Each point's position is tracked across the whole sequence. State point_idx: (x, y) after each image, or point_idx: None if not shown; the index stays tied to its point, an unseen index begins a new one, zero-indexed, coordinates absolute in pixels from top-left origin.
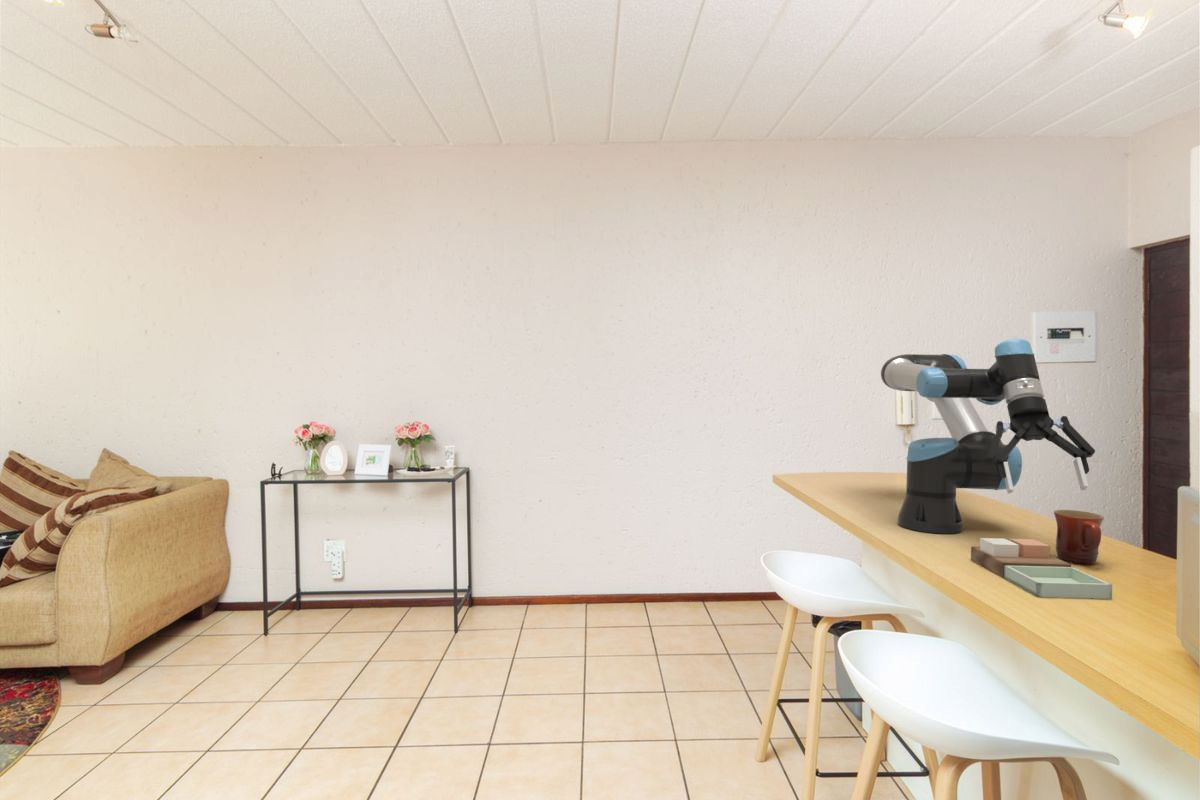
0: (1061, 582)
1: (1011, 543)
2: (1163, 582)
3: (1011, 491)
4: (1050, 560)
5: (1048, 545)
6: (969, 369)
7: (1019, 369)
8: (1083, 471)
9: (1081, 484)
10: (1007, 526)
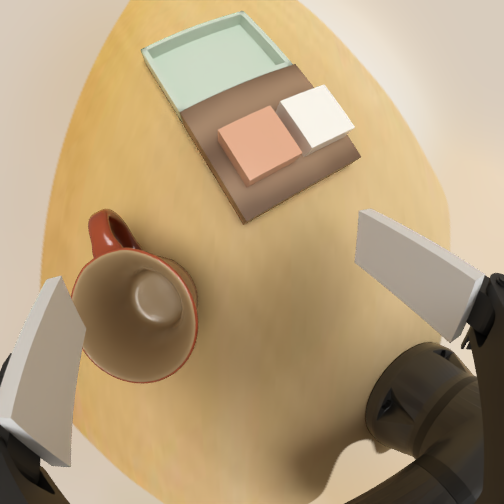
0: (211, 23)
1: (294, 107)
2: (49, 216)
3: (360, 237)
4: (215, 121)
5: (218, 131)
6: None
7: None
8: (24, 332)
9: (69, 316)
10: (284, 490)
